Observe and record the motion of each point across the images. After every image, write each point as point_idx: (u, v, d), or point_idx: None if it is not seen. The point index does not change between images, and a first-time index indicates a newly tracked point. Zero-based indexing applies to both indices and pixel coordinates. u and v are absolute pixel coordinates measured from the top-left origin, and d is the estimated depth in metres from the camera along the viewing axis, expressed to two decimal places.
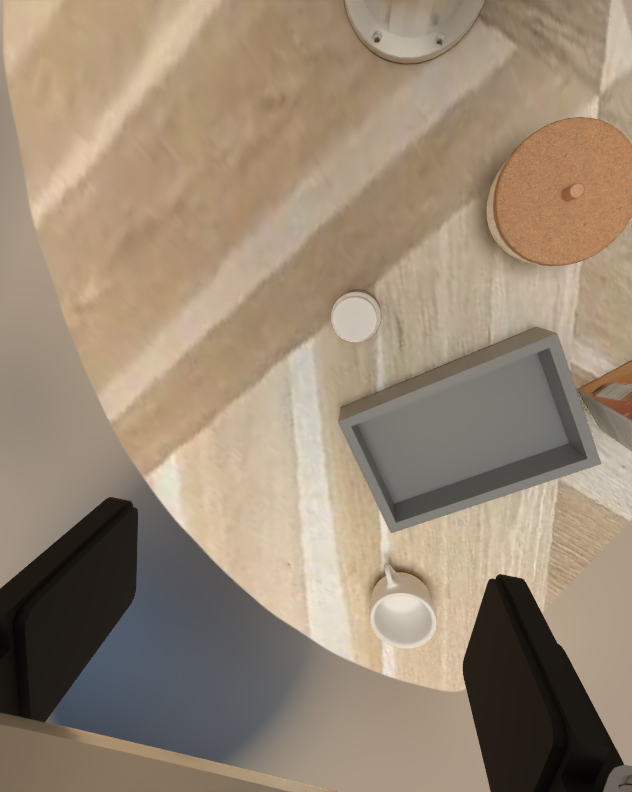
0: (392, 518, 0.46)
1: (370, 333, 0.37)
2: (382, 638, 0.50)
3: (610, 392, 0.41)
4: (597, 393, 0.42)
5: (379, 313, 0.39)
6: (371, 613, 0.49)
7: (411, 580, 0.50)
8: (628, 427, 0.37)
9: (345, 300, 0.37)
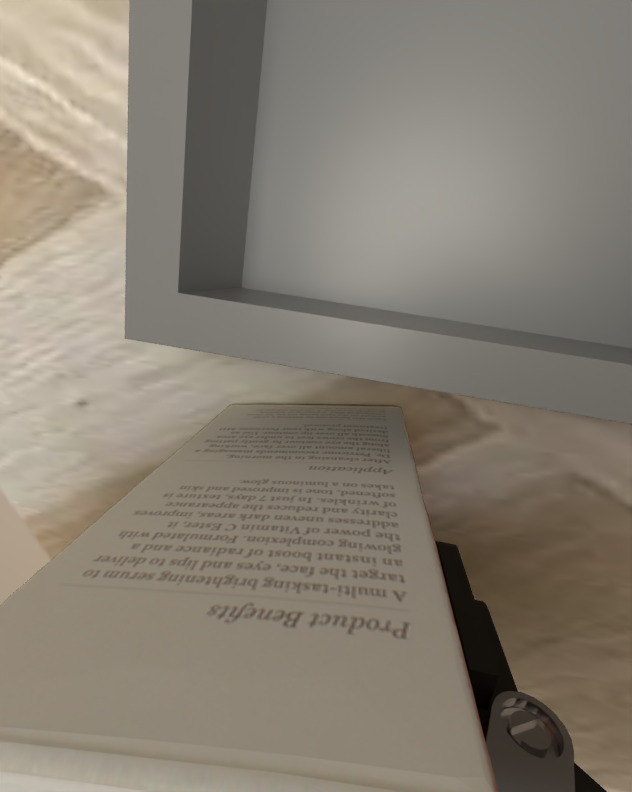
0: None
1: None
2: None
3: None
4: None
5: None
6: None
7: None
8: (336, 598, 0.05)
9: None
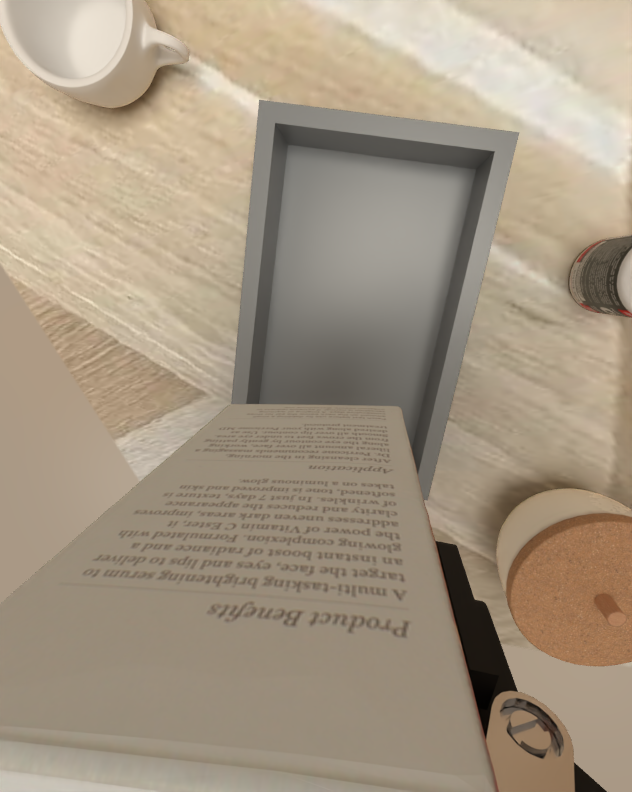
0: (286, 121, 0.23)
1: None
2: None
3: None
4: None
5: None
6: None
7: (137, 85, 0.26)
8: (335, 597, 0.05)
9: None
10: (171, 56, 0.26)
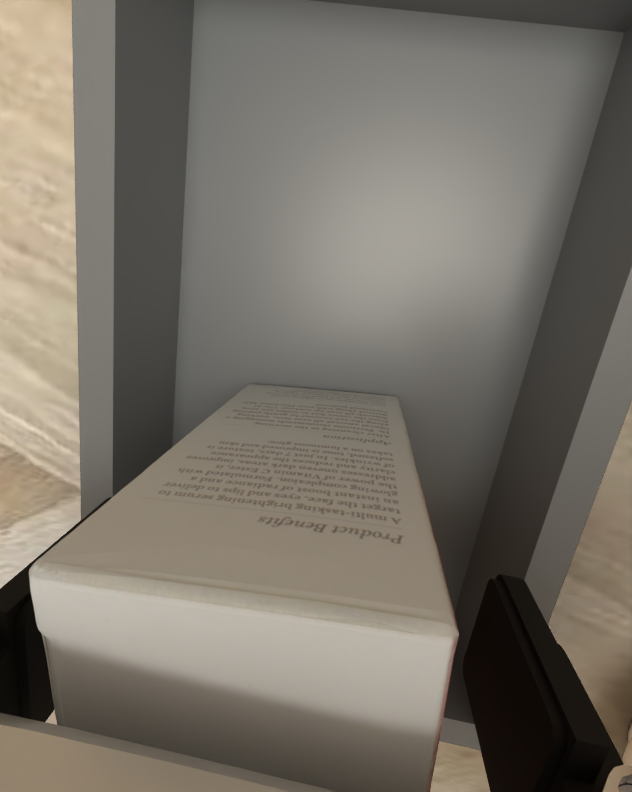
0: None
1: None
2: None
3: None
4: None
5: None
6: None
7: None
8: (350, 519, 0.07)
9: None
10: None
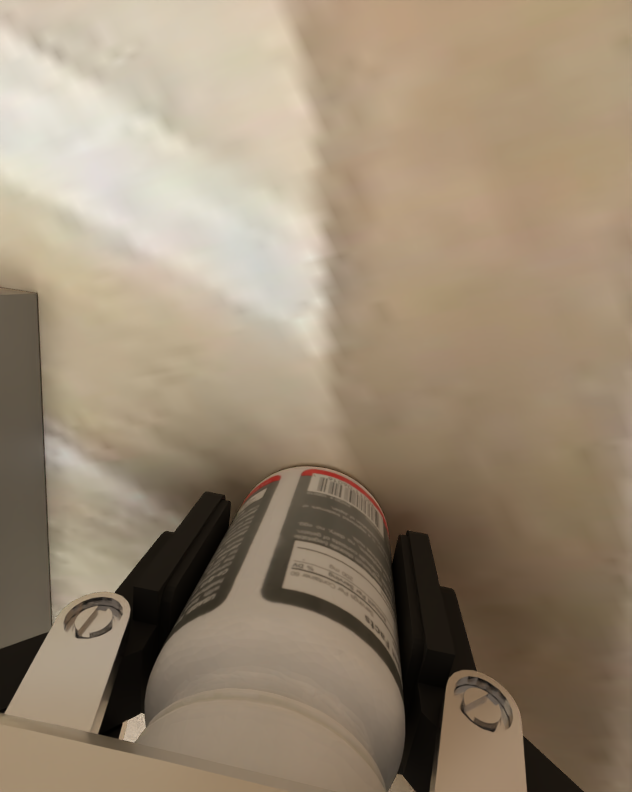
0: None
1: None
2: None
3: None
4: None
5: None
6: None
7: None
8: None
9: None
10: None
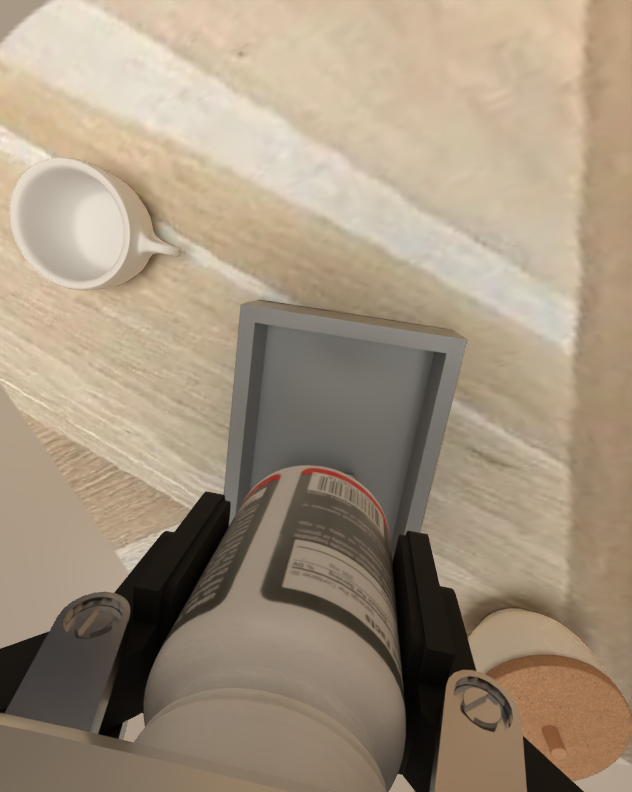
0: (264, 321, 0.27)
1: None
2: (44, 165, 0.25)
3: None
4: None
5: None
6: (103, 177, 0.25)
7: (134, 273, 0.29)
8: None
9: None
10: None
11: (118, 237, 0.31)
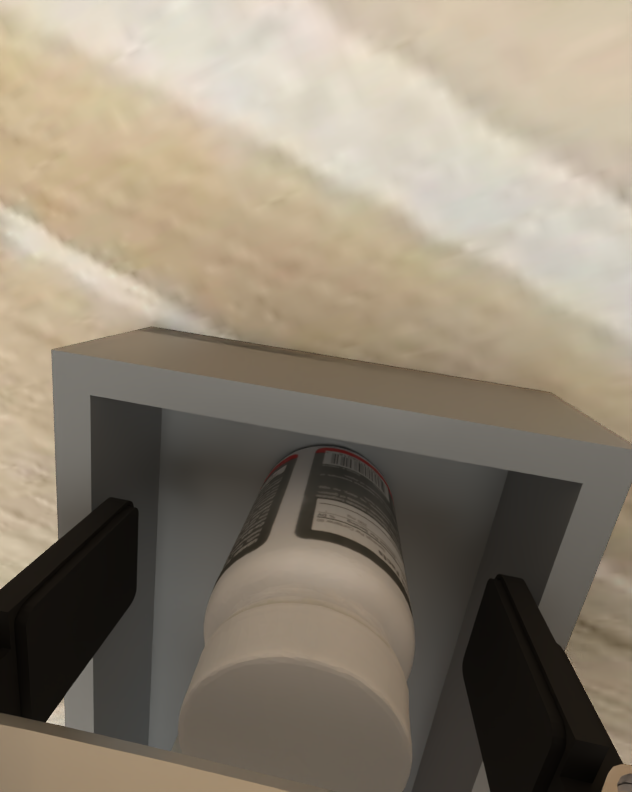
0: (113, 393, 0.11)
1: None
2: None
3: None
4: None
5: None
6: None
7: None
8: None
9: (404, 772, 0.07)
10: None
11: None
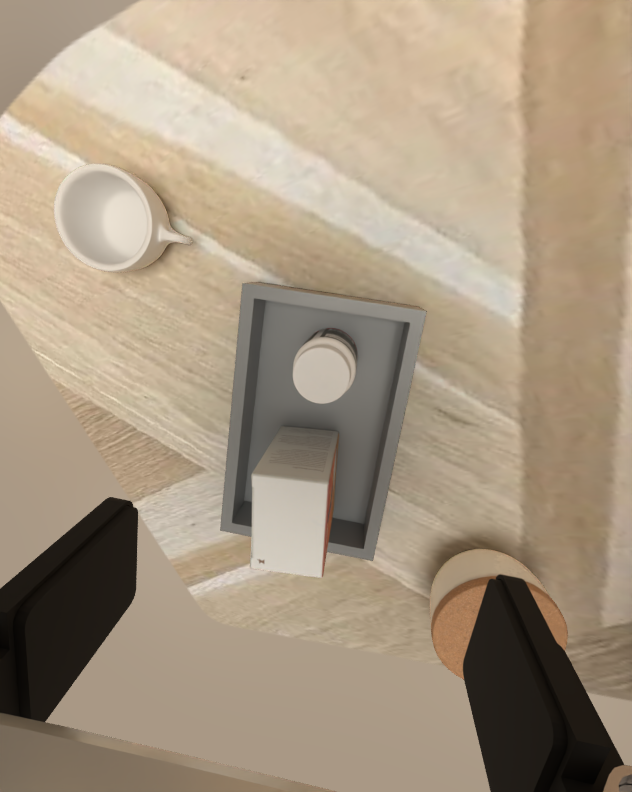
0: (262, 297, 0.32)
1: (296, 385, 0.29)
2: (83, 169, 0.31)
3: (335, 462, 0.35)
4: (336, 449, 0.36)
5: None
6: (131, 179, 0.31)
7: (153, 259, 0.35)
8: (312, 467, 0.31)
9: (348, 378, 0.29)
10: None
11: (139, 229, 0.37)
